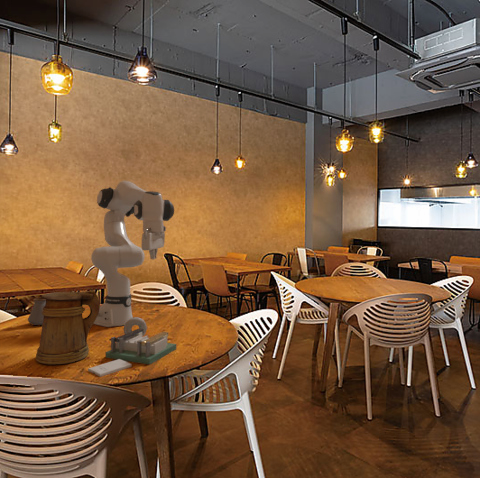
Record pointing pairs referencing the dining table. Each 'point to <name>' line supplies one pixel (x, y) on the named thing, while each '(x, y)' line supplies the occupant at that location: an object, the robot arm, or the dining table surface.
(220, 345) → the dining table surface
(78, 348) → the tankard
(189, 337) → the dining table surface
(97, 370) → the external hard drive
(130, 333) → the dark grey long bar
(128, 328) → the donut
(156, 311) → the dining table surface
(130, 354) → the board
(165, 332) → the strap brass
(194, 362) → the dining table surface
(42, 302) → the coffee pot
